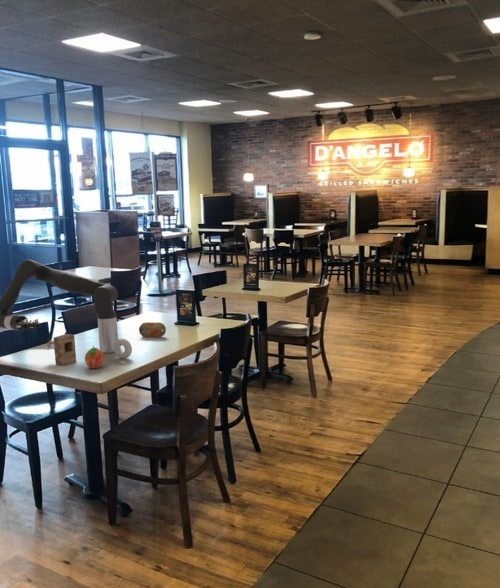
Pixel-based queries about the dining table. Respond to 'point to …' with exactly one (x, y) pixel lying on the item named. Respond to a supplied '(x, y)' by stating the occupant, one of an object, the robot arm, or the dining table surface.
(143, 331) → the tin
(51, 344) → the peg
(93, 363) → the fruit
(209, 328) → the dining table surface
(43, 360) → the dining table surface
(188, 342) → the dining table surface
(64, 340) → the wooden block
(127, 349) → the donut
